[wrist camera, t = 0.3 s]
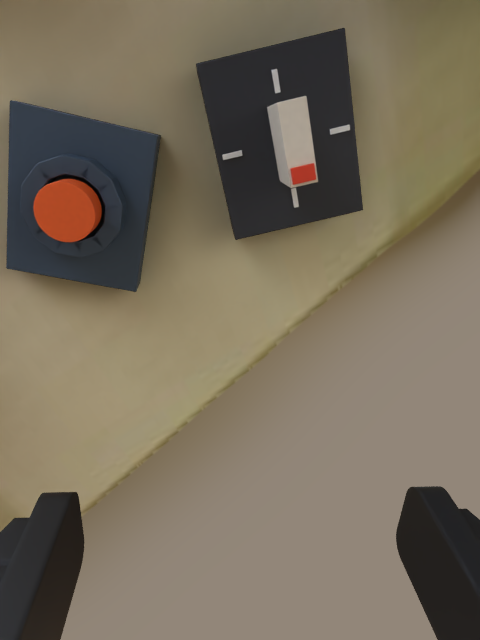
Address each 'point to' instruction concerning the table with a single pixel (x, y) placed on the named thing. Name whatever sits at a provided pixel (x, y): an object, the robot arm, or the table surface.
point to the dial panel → (256, 138)
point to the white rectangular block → (293, 142)
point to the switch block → (98, 173)
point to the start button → (67, 210)
